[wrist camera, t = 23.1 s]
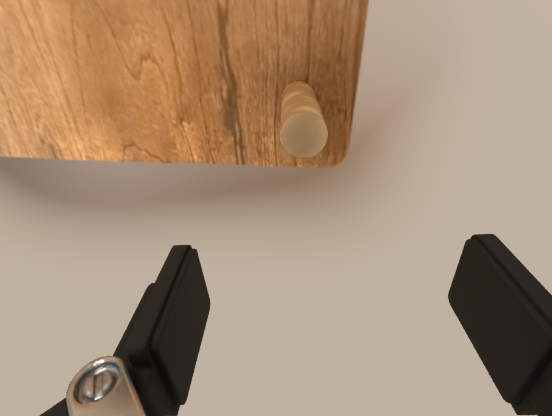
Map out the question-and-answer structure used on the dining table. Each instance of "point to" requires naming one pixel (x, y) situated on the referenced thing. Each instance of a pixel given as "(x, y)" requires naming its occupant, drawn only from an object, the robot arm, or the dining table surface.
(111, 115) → the dining table surface
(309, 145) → the beige marbled cylinder
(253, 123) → the dining table surface
